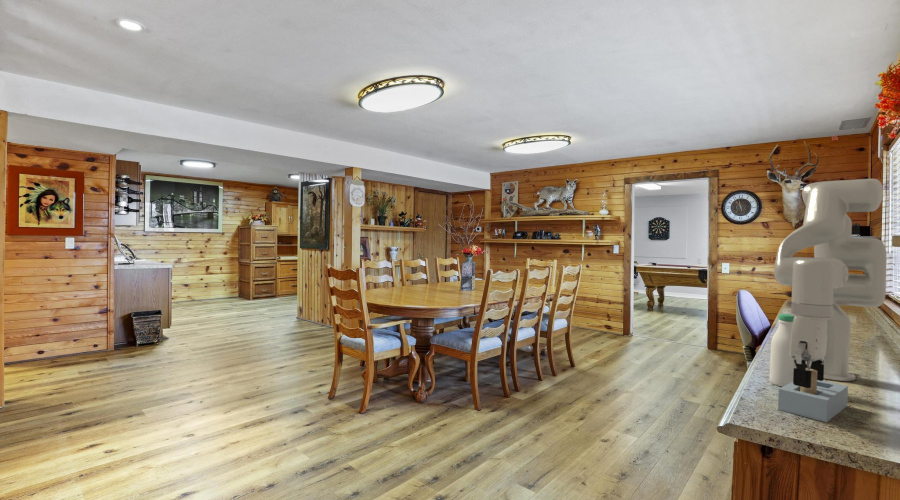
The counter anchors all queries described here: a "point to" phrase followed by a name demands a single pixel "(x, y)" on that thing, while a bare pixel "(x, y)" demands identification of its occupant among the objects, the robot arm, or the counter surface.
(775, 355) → the milk bottle
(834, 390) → the hole block
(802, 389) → the peg
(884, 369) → the counter surface
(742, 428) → the counter surface
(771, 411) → the counter surface
